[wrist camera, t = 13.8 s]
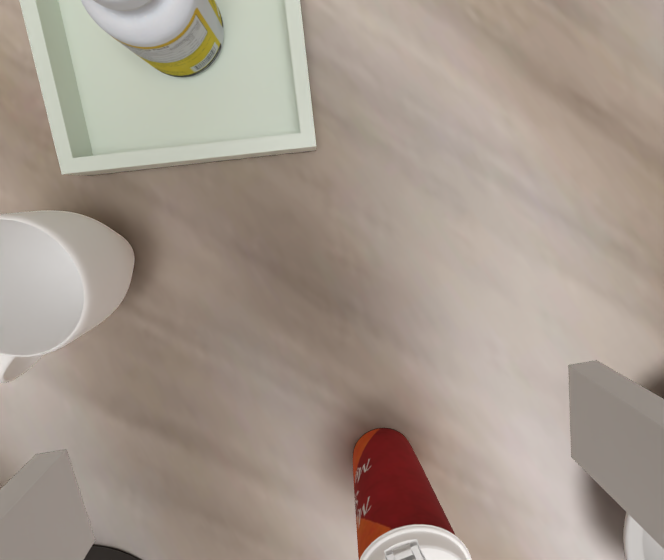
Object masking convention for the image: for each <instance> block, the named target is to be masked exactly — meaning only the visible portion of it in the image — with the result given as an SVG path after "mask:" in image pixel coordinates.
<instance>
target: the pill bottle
mask: <svg viewBox="0 0 664 560" xmlns="http://www.w3.org/2000/svg"><path fill="white" fill-rule="evenodd" d="M81 2H82V4H83V6H84V7H85V9H86V11H87V12H88V14H89V15H90V16H91V18H92V19H93V20H94V21H95V22H96V23H97V24H98V25H99V26H100V27H101V28H102V29H103V30H104V31H105V32H106V33H108V34H109V35H110V36H112V37H113V38H114V39H116V40H117V41H118V42H120V43H121V44H122V45H124V46H125V47H127V48H128V49H129V50H131V51H132V52H133V53H135V54H136V55H137V56H139V57H140V58H142V59H143V60H144V61H146V62H147V63H148V64H150V65H151V66H152V67H154V68H155V69H157V70H159V71H160V72H162V73H164V74H167V75H170V76H173V77H182V78H184V77H192V76H195V75H198V74H200V73H202V72H204V71H205V70H207V69H208V68H209V67H210V66H211V65H212V64H213V63H214V62H215V60H216V59H217V57H218V55H219V53H220V51H221V48H222V44H223V39H224V26H223V20H222V16H221V13H220V11H219V8H218V6H217V4H216V2H215V0H81Z"/></svg>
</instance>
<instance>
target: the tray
mask: <svg viewBox="0 0 664 560" xmlns="http://www.w3.org/2000/svg"><path fill="white" fill-rule="evenodd" d="M19 1H20V5H21V9H22V13H23V17H24V21H25V25H26V29H27V34H28V38H29V42H30V46H31V50H32V54H33V58H34V62H35V66H36V70H37V75H38V79H39V83H40V87H41V91H42V95H43V99H44V103H45V107H46V112H47V116H48V120H49V124H50V128H51V132H52V136H53V140H54V144H55V148H56V153H57V157H58V161H59V165H60V169H61V173H62V174H66V175H84V176H90V175H99V174H108V173H117V172H126V171H135V170H144V169H153V168H163V167H172V166H181V165H190V164H199V163H208V162H217V161H226V160H235V159H244V158H253V157H262V156H271V155H280V154H289V153H298V152H307V151H316V138H315V130H314V121H313V112H312V103H311V94H310V85H309V76H308V68H307V59H306V50H305V41H304V32H303V23H302V14H301V6H300V0H215V2H216V4H217V6H218V8H219V11H220V13H221V16H222V20H223V26H224V39H223V44H222V48H221V51H220V53H219V55H218V57H217V59H216V60H215V62H214V63H213V64H212V65H211V66H210V67H209V68H208V69H207V70H205V71H204V72H202V73H200V74H198V75H195V76H192V77H184V78H182V77H173V76H170V75H167V74H164V73H162V72H160V71H159V70H157V69H155V68H154V67H152V66H151V65H150V64H148V63H147V62H146V61H144V60H143V59H142V58H140V57H139V56H137V55H136V54H135V53H133V52H132V51H131V50H129V49H128V48H127V47H125V46H124V45H122V44H121V43H120V42H118V41H117V40H116V39H114V38H113V37H112V36H110V35H109V34H108V33H106V32H105V31H104V30H103V29H102V28H101V27H100V26H99V25H98V24H97V23H96V22H95V21H94V20H93V19H92V18H91V16H90V15H89V14H88V12H87V11H86V9H85V7H84V6H83V4H82V2H81V0H19Z"/></svg>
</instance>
